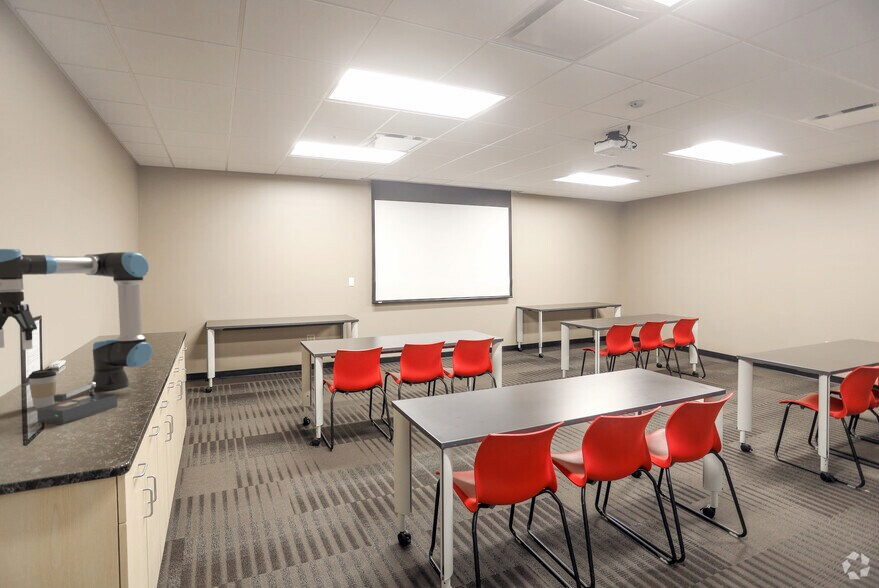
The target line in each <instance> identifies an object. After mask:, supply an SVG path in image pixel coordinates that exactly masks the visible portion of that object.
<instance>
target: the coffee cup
mask: <svg viewBox="0 0 879 588" xmlns="http://www.w3.org/2000/svg"><path fill="white" fill-rule="evenodd" d="M27 378H28V380H29V389H30V396H31V398H32V406H33V408H35V409H39V408H42V407H46V406H49V405H53V404H56V401H54V395H57V392H56V391H57V379H56V378H57V372H56V371H54V370H53V368H45V369H38V370H34V371H32V372H31V373H30V374H29V375H28V377H27Z"/></svg>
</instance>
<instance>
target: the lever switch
mask: <svg viewBox="0 0 879 588" xmlns="http://www.w3.org/2000/svg"><path fill="white" fill-rule="evenodd" d="M88 392H89V393H88V394H84V395H82V396H78V397H75V398H71V399H68V400H64V401H59V402H57V403H56V402H55V404H53V405H49V406H46V407H42V408H36V410H37V423H44V424H45V423H46V424H54V425H55V424H57V425H66V424H69V423H71V422H75V421H79V420H81V419H83V418H86V417H90V416H92V415H95V414H98V413H99V414H100V413H102V412H105V411H109V410H111V409H113V408H116V407H118V396H117V395H118V394H113V393H100V392H99V393H97V392H95V391H94V388H90V389H88Z"/></svg>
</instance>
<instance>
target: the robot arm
mask: <svg viewBox="0 0 879 588" xmlns="http://www.w3.org/2000/svg"><path fill="white" fill-rule="evenodd" d="M148 272H149V262H148V260H147V258H146V257H145V256H144V255H143V254H141V253H139V252H136V251H135V252H133V251H124V252H123V251H122V252H117V251H116V252H105V253H96V254H95V253H94V254H88V253H87V254H85V255H83V256H79V255H78V256H74V255H73V256H72V255H71V256H69V255H66V256H65V255H62V256H61V255H58V256H57V255H55V256H54V255H49V254H48V255H45V254H22V251H21V250H20V249H17V248H0V349H3V348H5V335H4V329H3V327H4V325H5V324H6V322H7V320H8V319H9V318H13V319H14V320H15V321H16V322H17V324H18V325H19V327H20V328H21V329H22V330H21V340H22V350H24V351H25V350H26V351H27V350H31V349H33V331H35V330H37V329H38V326H37V324H36V322H35V319H34V317H33V314H32V313H31V311H30V306H29V304H28V303H25V304H22V302H24V301H25V293H24V292H23V290H24V289H25V288H24V279H23V278H24V277H23V276H25V275H30V276H31V275H52V274H53V275H55V274H56V275H59V274H60V275H62V274H63V275H64V274H68V275H69V274H85V275H87V276H98V277H99V276H100V277H108V278H109V277H110V278H113V282H114V283H115V284H116V285H117V295H118V296H117V297H118V318H119V336H118V337H117V338H111V339H103V340H99V341H98V340H97V341H96V342H94V343H93V344H92V356H93V358H92V359H93V370H94V371H93V372H94V373H93V376H92V380H91V382H96V387H95V388H94V392H100V391H101V392H103V391H111V390H117V389H122V388H125V387H127V386H129V385H130V380H129V378H128V376H127V374H126V373H127V372H126V371H125V367H127V368H141V367H143V366H145V365H146V364H148V362H149V361H150V360H151V358H152V355H153V347H152V345H151V344H150V343H148V342H147V338H146V336H145V335H144V334H143V331H142V330H143V329H142V309H141V308H142V305H141V304H142V303H141V286H140V285H141V283H143V281H144V276H146V275H148V274H147V273H148Z"/></svg>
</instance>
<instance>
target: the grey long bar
mask: <svg viewBox="0 0 879 588" xmlns="http://www.w3.org/2000/svg"><path fill="white" fill-rule="evenodd" d="M95 387H96V382H92V381H89V382H86V384H83V385H81V386H78V387H76V388H74V389H71V390H68V391H66V392H63V393H56V394H55V395H54V401H55V402H64V401H67V399H68V398H71V397H73V396H75V395H78V394H80V393H82V392H85V391H87V390H89V389H90V388H95Z"/></svg>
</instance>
